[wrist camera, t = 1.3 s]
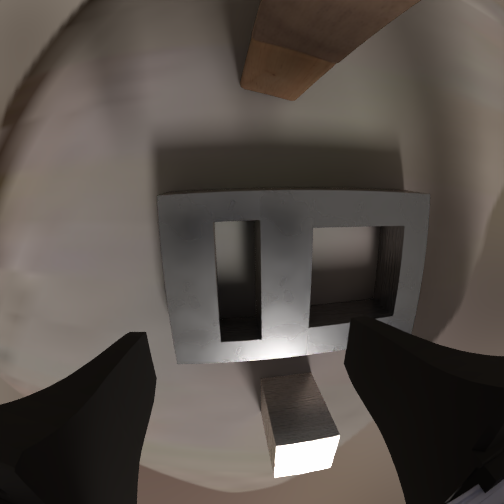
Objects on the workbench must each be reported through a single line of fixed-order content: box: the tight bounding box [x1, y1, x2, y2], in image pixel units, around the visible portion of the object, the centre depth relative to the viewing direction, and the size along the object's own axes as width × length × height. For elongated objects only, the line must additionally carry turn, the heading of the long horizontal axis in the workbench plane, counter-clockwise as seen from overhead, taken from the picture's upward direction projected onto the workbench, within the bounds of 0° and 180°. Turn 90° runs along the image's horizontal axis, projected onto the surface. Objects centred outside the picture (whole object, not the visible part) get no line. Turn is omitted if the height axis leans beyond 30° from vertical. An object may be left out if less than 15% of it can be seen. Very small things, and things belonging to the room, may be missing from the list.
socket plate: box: [157, 187, 430, 364], centre depth 18 cm, size 16×10×3 cm, turn 91°
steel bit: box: [261, 372, 340, 477], centre depth 19 cm, size 4×4×7 cm
